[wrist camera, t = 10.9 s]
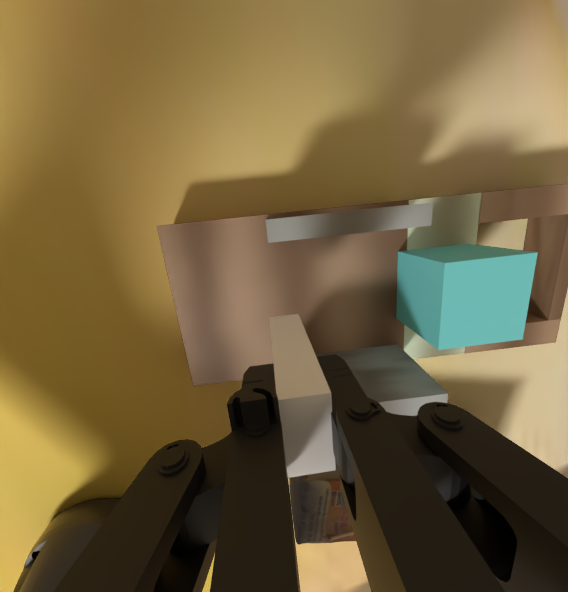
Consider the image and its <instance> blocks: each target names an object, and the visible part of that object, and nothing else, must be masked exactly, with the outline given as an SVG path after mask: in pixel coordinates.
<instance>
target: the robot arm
mask: <svg viewBox="0 0 568 592" xmlns="http://www.w3.org/2000/svg"><path fill="white" fill-rule="evenodd" d="M269 319H270V330H271V341H272V352H273V363H272V364H265V365H257V366H250V367H249V368H248V369H247V370H246V372H245V373H244V374H243V382H242V383H243V384H242V389H241V390H239V391H237V392H236V393H235V394H234V395H232V396H231V397H230V399H229V401H228V403H227V407H228V412H229V418H230V423H231V428H232V432H231V433H230V434H229V435H228V436H226V437H225V438H224V439H222V440H220V441H218V442H216V443H214V444H212V445H209V446H207V447H205V448H202V449H201V446H200V445H199V444H198V443H197V442H196V441H192V440H188V439H187V440H178V441H175V442H173V443H170V444H168V445H166V446H164V447H163V448H161V449H160V450H158V451H157V452H156V453H155V454H154V455H153V456H152V457H151V458H150V459H149V461H148V462H147V463H146V465H145V466H144V468H143V469H142V470H141V472H140V473H139V474H138V476H137V477H136V479H135V480H134V481H133V483H132V484H131V485H130V487H129V488H128V490H127V491H126V492H125V494H124V495H123V496H122V498H121V499H98V500H92V501H87V502H83V503H80V504H77V505H74V506H72V507H70V508H68V509H66V510H65V511H63V512H61V513H60V514H59V515H57V516H56V517H55V518H54V519H53V520H52V521H51V523H50V524H49V525H48V527H47V528H46V529H45V531H44V532H43V534H42V535H41V536H40V538H39V539H38V541H37V542H36V544H35V545H34V547H33V548H32V550H31V552H30V553H29V555H28V558H27V560H26V563H25V565H24V569H23V571H22V573H21V576H20V578H19V580H18V582H17V585H16V587H15V589H14V592H202V590H203V587H204V584H205V581H206V578H207V575H208V572H209V569H210V566H211V563H212V560H213V557H214V554H215V558H214V566H213V573H212V581H211V588H210V592H300V583H299V574H298V565H297V556H296V547H295V538H294V528H293V519H292V510H291V501H290V493H289V484H288V478H290V477H296V476H303V475H309V474H315V473H322V472H328V471H334V470H336V465H335V460H336V463H337V466H338V469H339V472H340V491H341V505H342V508H347V511H348V514H349V518H350V521H351V524H352V528H353V531H354V534H355V538H356V541H357V545H358V548H359V551H360V555H361V558H362V561H363V565H364V568H365V571H366V575H367V578H368V581H369V585H370V588H371V591H372V592H568V478H566V477H565V476H563V475H562V474H560V473H559V472H557V471H556V470H554V469H553V468H551V467H550V466H548V465H547V464H545V463H544V462H542V461H541V460H539V459H538V458H536V457H535V456H533V455H532V454H530V453H529V452H527V451H526V450H524V449H523V448H521V447H520V446H518V445H517V444H515V443H514V442H512V441H511V440H509V439H508V438H506V437H505V436H503V435H502V434H500V433H499V432H497V431H496V430H494V429H493V428H491V427H489V426H488V425H486V424H485V423H483V422H482V421H480V420H479V419H477V418H476V417H474V416H473V415H471V414H470V413H468V412H467V411H465V410H463V409H461V408H459V407H457V406H455V405H451V404H448V403H443V402H430V403H425V404H424V405H422V406H421V407H420V408H419V411H418V415H417V416H407V415H398V414H392V413H389V412H386V411H385V409H384V408H383V407H382V406H381V405H380V404H379V403H378V402H377V401H375V400H373V399H371V398H368V397H367V396H366V394H365V393H364V391H363V389H362V388H361V386H360V384H359V383H358V381H357V379H356V378H355V376H354V375H353V373H352V371H351V370H350V369H349V366H348V365H347V363H346V362H345V360H344V359H342V358H341V357H339V356H338V355H336V354H333V355H326V356H318V357H316V355H315V352H314V350H313V348H312V345H311V343H310V340H309V338H308V336H307V333H306V331H305V328H304V326H303V324H302V321H301V319H300V316H299V314H293V315H285V316H277V317H269ZM345 504H346V505H345Z"/></svg>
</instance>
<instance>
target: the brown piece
mask: <svg viewBox="0 0 568 592" xmlns="http://www.w3.org/2000/svg"><path fill="white" fill-rule="evenodd" d="M526 218H528V225H527V231H526V237H525V243H524V250H523V251H530V252H538V254H537V260H536V265H535V271H534V277H533V283H532V288H531V294H530V300H529V306H528V311H527V317H526V323H525V329H524V334H523V339H522V340H514V341H506V342H498V343H491V344H483V345H475V346H467V347H459V348H452V349H444V350H437V349H436V348H435V347H433V346H432V345H431V344H430V343H428V342H427V341H426V340H424V339H423V338H422V337H420V336H419V335H418V334H416V333H415V332H414V331H412V330H411V329H410V328H408V327H407V326H406V325H404V324H403V323H402V322H400V321H399V320H398V319H396V312H397V268H398V251H407V250H416V249H425V248H434V247H443V246H452V245H460V244H474V245H476V241H477V232H478V223H488V222H497V221H507V220H516V219H526ZM157 230H158V234H159V238H160V243H161V247H162V251H163V256H164V260H165V265H166V269H167V273H168V278H169V282H170V286H171V291H172V295H173V299H174V304H175V308H176V313H177V317H178V321H179V326H180V330H181V334H182V339H183V343H184V347H185V352H186V356H187V361H188V365H189V369H190V374H191V378H192V382H193V386H198V385H206V384H215V383H223V382H231V381H239V380H243V374H244V373H245V372H246V370H247V369H248V368H249V367H250V366H257V365H265V364H272V363H273V352H272V341H271V330H270V319H269V317H277V316H285V315H293V314H299V316H300V319H301V321H302V324H303V326H304V328H305V331H306V333H307V336H308V338H309V340H310V343H311V345H312V348H313V350H314V352H315V355H316V357H318V356H326V355H333V354H336V355H338V356H339V357H341V358H342V359H344V360H345V362H346V363H347V365H348V366H349V369H350V370H351V371H352V373H353V375H354V376H355V378H356V379H357V381H358V383H359V384H360V386H361V388H362V389H363V391H364V393H365V394H366V396H367V397H368V398H371V399H373V400H375V401H377V402H378V403H379V404H380V405H381V406H382V407H383V408H384V409H385V411H386V412H389V413H392V414H398V415H407V416H415V415H418V411H419V408H420V407H421V406H422V405H424V404H425V403H430V402H443V403H447V401H448V393H447V392H446V391H445V390H444V389H443V388H442V387H441V386H440V385H439V384H438V383H437V382H436V381H435V380H434V379H433V378H432V377H431V376H430V375H429V374H427V373H426V372H425V371H424V370H423V369H422V368H421V367H420V366H419V365H418V364H417V363H416V362H415V361H414V360H413V359H419V358H427V357H435V356H443V355H452V354H460V353H471V352H480V351H488V350H496V349H504V348H513V347H521V346H529V345H537V344H546V343H554V342H556V339H557V334H558V330H559V325H560V320H561V316H562V311H563V307H564V302H565V297H566V293H567V288H568V184H560V185H550V186H540V187H530V188H521V189H511V190H501V191H491V192H482V193H472V194H462V195H452V196H443V197H433V198H423V199H414V200H404V201H394V202H384V203H374V204H365V205H355V206H345V207H335V208H326V209H316V210H306V211H297V212H287V213H277V214H267V215H258V216H248V217H238V218H228V219H219V220H209V221H199V222H189V223H180V224H170V225H160V226H157Z"/></svg>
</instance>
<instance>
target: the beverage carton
mask: <svg viewBox="0 0 568 592" xmlns="http://www.w3.org/2000/svg"><path fill="white" fill-rule="evenodd" d="M335 465H336V470H334V471H328V472H322V473H315V474H309V475H303V476H296V477H290V497H291V507H292V515H293V523H294V531H295V538H296V542H297V544H303V543H332V542H342V541H356V538H355V534H354V531H353V528H352V524H351V521H350V518H349V514H348V511H347V508H342V505H341V491H340V472H339V469H338V466H337V463H336V460H335ZM345 505H346V504H345Z"/></svg>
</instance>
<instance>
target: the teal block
mask: <svg viewBox="0 0 568 592" xmlns="http://www.w3.org/2000/svg"><path fill="white" fill-rule="evenodd" d="M537 254H538V252H530V251H522V250H514V249H506V248H498V247H490V246H482V245H474V244H460V245H452V246H443V247H434V248H425V249H416V250H407V251H398V268H397V312H396V319H398V320H399V321H400V322H402V323H403V324H404V325H406V326H407V327H408V328H410V329H411V330H412V331H414V332H415V333H416V334H418V335H419V336H420V337H422V338H423V339H424V340H426V341H427V342H428V343H430V344H431V345H432V346H433V347H435V348H436V349H437V350H444V349H452V348H459V347H467V346H475V345H483V344H491V343H498V342H506V341H514V340H522V339H523V334H524V329H525V323H526V317H527V311H528V306H529V300H530V294H531V288H532V283H533V277H534V271H535V265H536V260H537Z"/></svg>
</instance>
